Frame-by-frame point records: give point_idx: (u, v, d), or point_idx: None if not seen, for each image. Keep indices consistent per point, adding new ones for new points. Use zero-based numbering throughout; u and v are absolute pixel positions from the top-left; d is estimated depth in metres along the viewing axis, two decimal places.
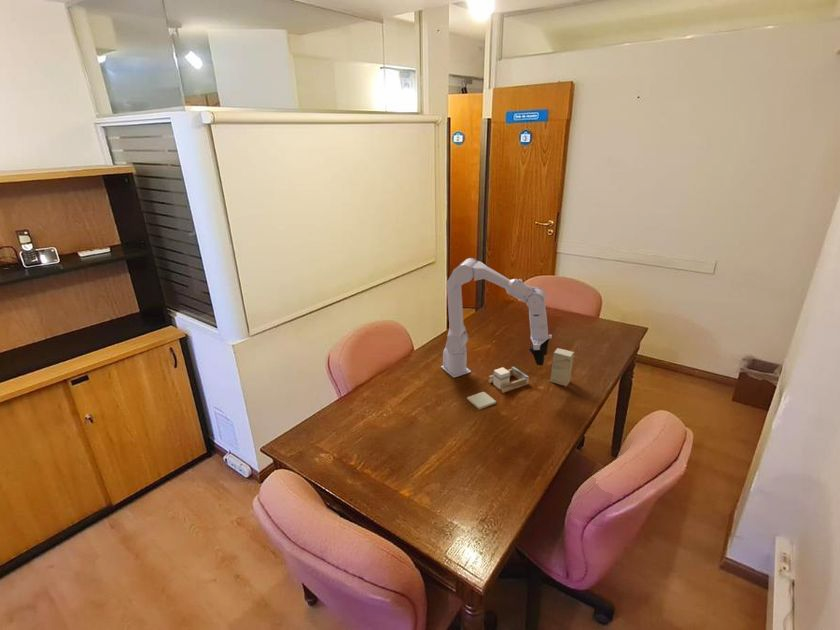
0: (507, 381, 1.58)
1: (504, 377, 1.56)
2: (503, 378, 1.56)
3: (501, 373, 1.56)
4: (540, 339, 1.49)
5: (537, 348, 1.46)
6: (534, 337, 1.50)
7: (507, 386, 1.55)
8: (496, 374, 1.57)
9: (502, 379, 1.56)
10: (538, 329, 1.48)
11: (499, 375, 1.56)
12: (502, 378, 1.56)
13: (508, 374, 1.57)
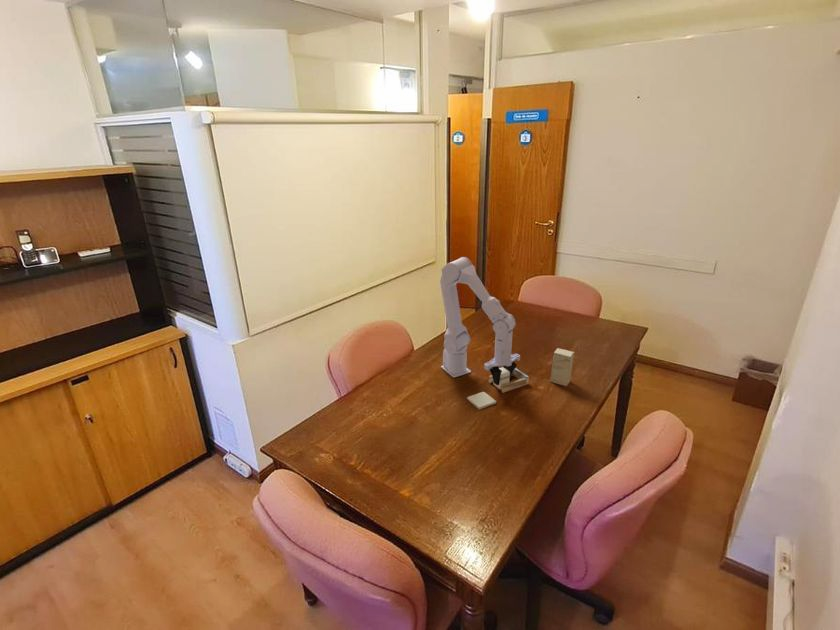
0: (507, 381, 1.58)
1: (504, 377, 1.56)
2: (503, 378, 1.56)
3: (501, 373, 1.56)
4: (497, 362, 1.54)
5: (486, 368, 1.53)
6: (494, 358, 1.55)
7: (507, 386, 1.55)
8: None
9: (502, 379, 1.56)
10: (497, 352, 1.53)
11: None
12: (502, 378, 1.56)
13: (508, 374, 1.57)
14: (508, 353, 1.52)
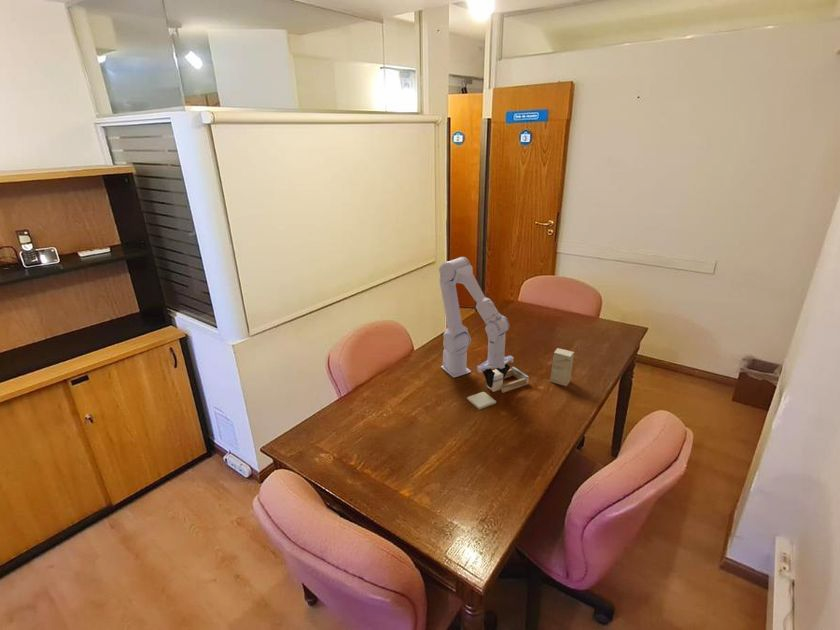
0: (500, 383, 1.57)
1: (497, 379, 1.55)
2: (496, 380, 1.55)
3: (494, 375, 1.55)
4: (490, 364, 1.53)
5: (479, 371, 1.52)
6: (487, 360, 1.54)
7: (507, 386, 1.55)
8: None
9: (495, 381, 1.55)
10: (490, 355, 1.52)
11: None
12: (495, 380, 1.55)
13: (501, 376, 1.56)
14: (501, 355, 1.51)
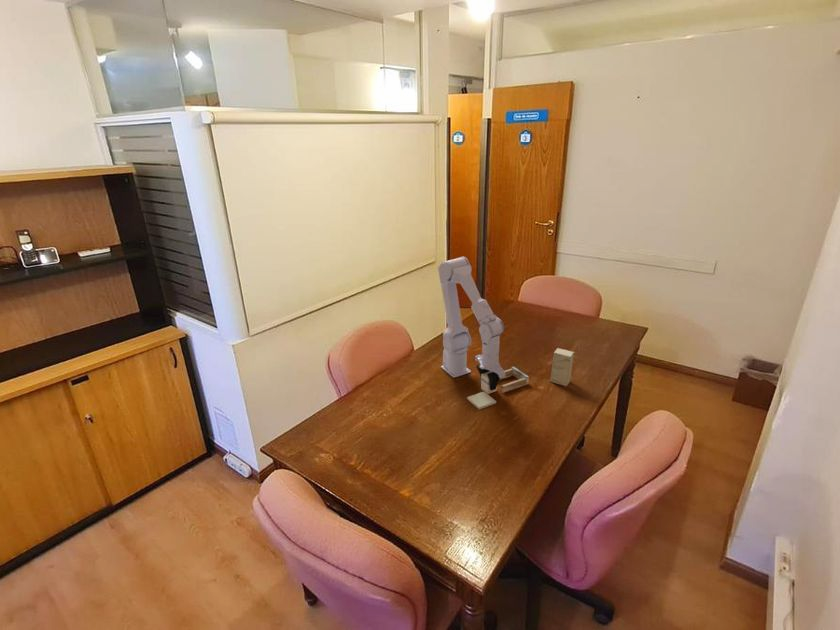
0: None
1: None
2: None
3: None
4: None
5: None
6: None
7: (507, 386, 1.55)
8: (483, 378, 1.55)
9: (489, 384, 1.54)
10: None
11: (486, 379, 1.54)
12: None
13: None
14: (483, 356, 1.51)
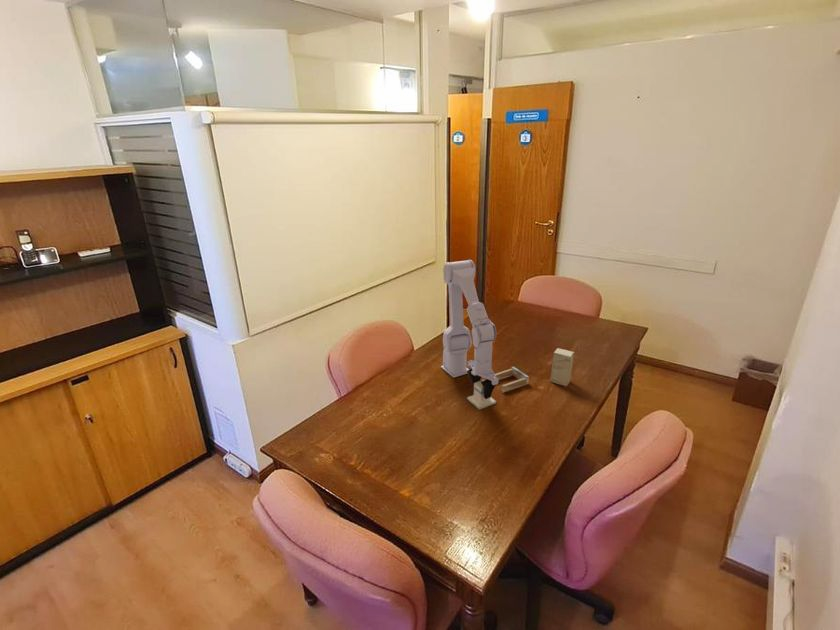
0: None
1: None
2: (483, 391, 1.47)
3: (481, 386, 1.47)
4: None
5: None
6: None
7: (507, 386, 1.55)
8: (476, 387, 1.48)
9: (482, 393, 1.47)
10: None
11: (479, 388, 1.47)
12: (482, 392, 1.47)
13: None
14: (476, 362, 1.43)
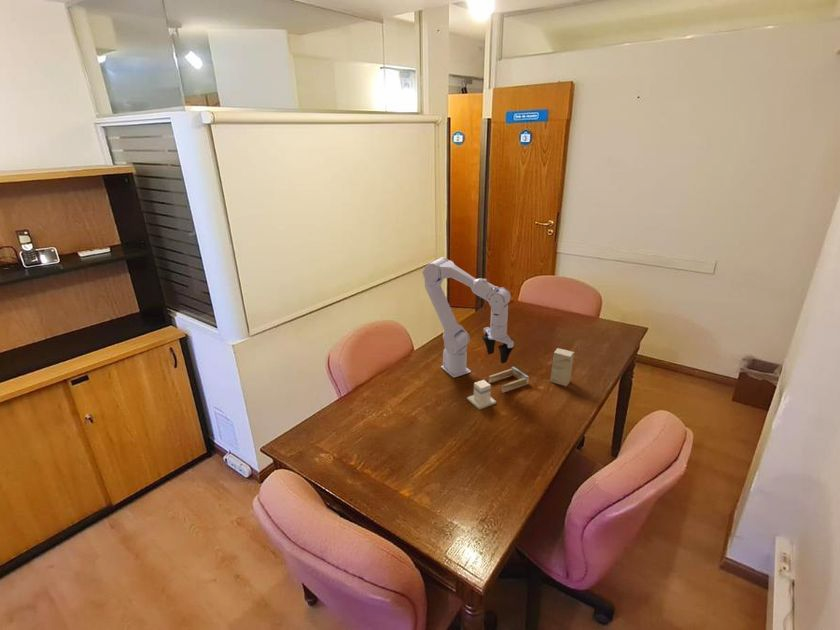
0: (488, 395, 1.49)
1: (485, 390, 1.47)
2: (483, 391, 1.47)
3: (481, 386, 1.47)
4: None
5: None
6: None
7: (507, 386, 1.55)
8: (476, 387, 1.48)
9: (482, 393, 1.47)
10: None
11: (479, 388, 1.47)
12: (482, 392, 1.47)
13: (489, 387, 1.48)
14: (492, 327, 1.52)
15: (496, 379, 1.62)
